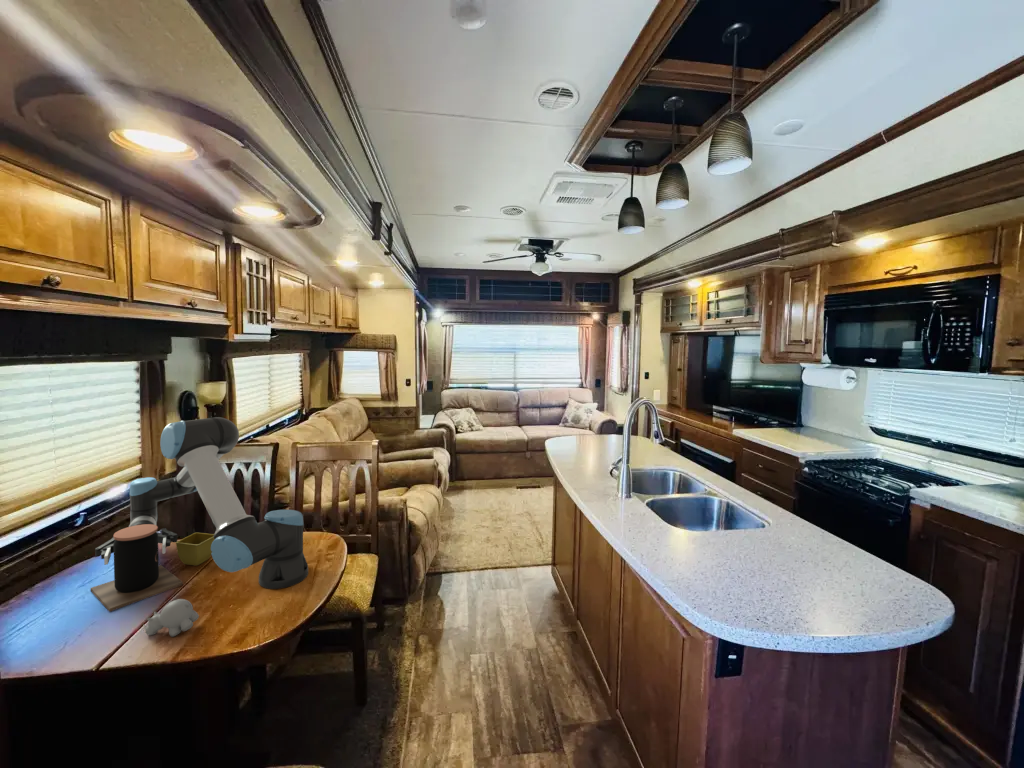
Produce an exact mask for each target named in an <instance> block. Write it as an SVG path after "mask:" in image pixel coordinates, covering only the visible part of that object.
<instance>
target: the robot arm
mask: <svg viewBox="0 0 1024 768" xmlns="http://www.w3.org/2000/svg"><path fill="white" fill-rule="evenodd" d="M239 438H240V432H239V429H238V427H237V425H236V424H235V423H234V422H233V421H231V420H230V419H227V418H224V417H220V416H218V417H217V416H215V417H208V418H206V417H205V418H199V419H192V420H191V419H190V420H180V421H175V422H171V423H168V424H167V425H166V426H165V427H164V428H163V430H162V432H161V436H160V440H159V441H160V450H161V455H163V457H164V458H166V459H168V460H175V461H176V464H177V465H178V466H179V467H183V468H182V469H181V470H180V471H179V472H178V474H177V475H176V476H175V477H171V478H166V479H162V480H157V479H156V478H155V477H149V476H148V477H141V478H137V479H135V480H132V481H131V482H130V486H129V504H130V511H129V513H130V516H129V517H130V522H129V525H128V527H131V526H136V525H142V524H153V525H157V522H158V518H159V513H158V502H160V501H165V500H169V499H172V498H176V497H180V496H184V495H189V494H192V493H196V492H197V493H198V495H199V497H200V499H201V501H202V502H203V504H204V507H205V508H206V511H207V513H208V515H209V517H210V519H211V521H212V523H213V525H214V527H215V532H214V533H213V534H214V536H213V537H214V539H215V540H214V541H213V542H212V545H211V551H212V553H211V554H212V555H211V557H212V560H213V561H214V563H215V564H216V566H218V568H219V569H221V570H222V571H225V572H227V573H235V572H238V571H241V570H243V569H244V570H245V569H247V568H249V567H251V566H252V565H255V564H257V563H259V562H260V561H263V562H262V565H261V569H260V571H259V574H258V584H259V586H260V587H262V588H264V589H268V590H269V589H270V590H274V589H275V590H278V589H283V588H284V589H285V588H289V587H292V586H295V585H297V584H300V583H301V582H302V581H304V580H305V579H306V578H307V577H308V575H309V564H308V562H307V560H306V556H305V554H304V524H305V523H304V514H302V512H301V511H299V510H295V509H277V510H271V511H268V512H266V514H265V515H264V517H263V518H264V520H263V521H260V522H257V520H256V517H255V516H254V515H250V514H247V513H246V511H245V509H244V506H243V505H242V503H241V501H240V499H239V497H238V496H237V492H235V490H234V488H233V485H232V483H231V482H230V480H229V478H228V475H227V474H226V472H225V470H224V468H223V466H222V464H221V463H220V461H219V460H220V459H221V458H222V457H223V456H224V455H227V454H229V453H230V452H231V451H232V450H233V449H234V448H235V447H236V446H237V444H238V442H239V440H240V439H239ZM156 532H157V534H158V544H161V547H162V548H161V550H162V552H161V553H162V554H166V550H167V548H168V547H170V546H171V543H176V542H178V533H176V532H173V531H170V530H168V529H167V528H166V527H163V528H161V529H160V530H159V531H158V530H157V531H156ZM114 541H115V539H114V537H113V536H112V538H111V539H109V540H107V541H106V542H104V543H102V544H101V545H99V546H97V547H95V551H94V552H95V558H96V557H97V558H98V557H100V559H101V560H103V559H104V563H103V564H104V566H105V565H108V564H109V562H110V560H111V557H112V554H114V547H113V543H114Z"/></svg>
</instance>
